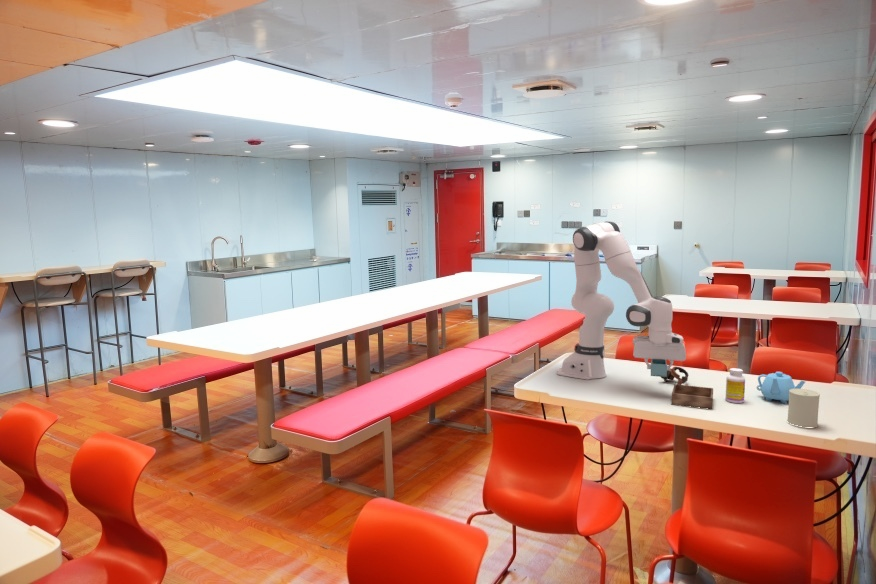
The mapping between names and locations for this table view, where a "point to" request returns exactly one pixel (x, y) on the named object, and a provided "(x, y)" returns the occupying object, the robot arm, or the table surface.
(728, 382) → the supplement bottle
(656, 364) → the tote
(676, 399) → the crate
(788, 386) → the teapot
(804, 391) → the can
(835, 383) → the table surface
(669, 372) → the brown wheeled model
